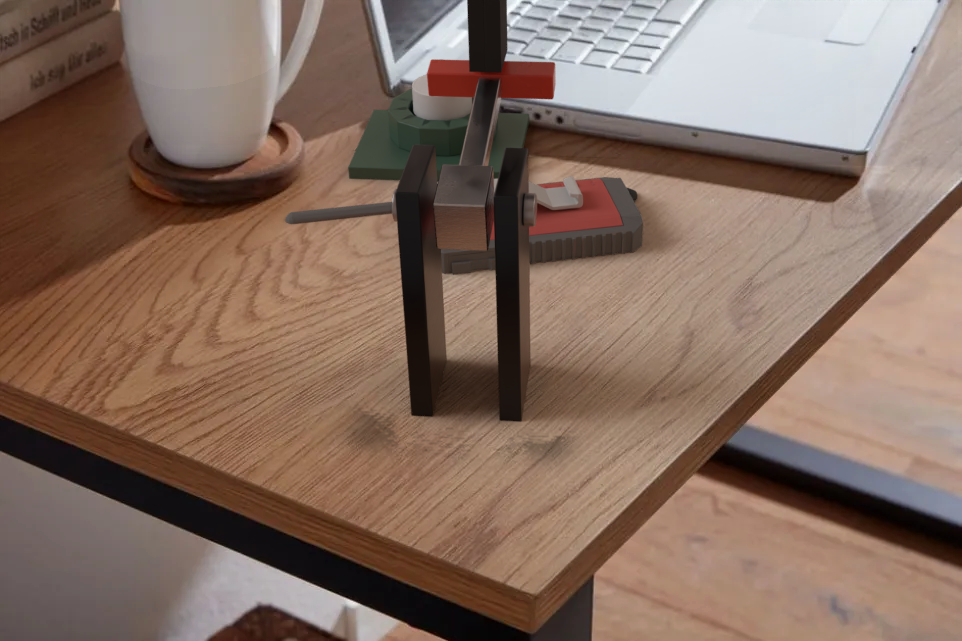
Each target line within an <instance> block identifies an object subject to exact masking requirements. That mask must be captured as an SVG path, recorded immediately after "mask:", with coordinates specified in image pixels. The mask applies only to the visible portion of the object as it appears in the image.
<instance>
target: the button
mask: <svg viewBox="0 0 962 641" xmlns="http://www.w3.org/2000/svg"><path fill="white" fill-rule="evenodd" d="M411 89H412V95H413V111H414V114H415V116H417V117H420V118H423V119H427V120H452V119H457V118H462V117H465V116H466V115H468V114H470V113H471V109H472V97H438V96H429V93H428V82H427V73H426V74H423V75H421V76H418V77H417V78H416V79H415V80H413V82H412V84H411Z"/></svg>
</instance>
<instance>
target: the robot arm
mask: <svg viewBox="0 0 962 641" xmlns="http://www.w3.org/2000/svg"><path fill="white" fill-rule="evenodd" d="M466 7H467V10H466V12H467V33H468V34H467V38H468V39H467V40H468V42H467V43H468V60H469V72H496V73H501V72H502V68H503V64H504V61H506V58H507V53H508V51H509V50H508V0H467V1H466Z"/></svg>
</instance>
